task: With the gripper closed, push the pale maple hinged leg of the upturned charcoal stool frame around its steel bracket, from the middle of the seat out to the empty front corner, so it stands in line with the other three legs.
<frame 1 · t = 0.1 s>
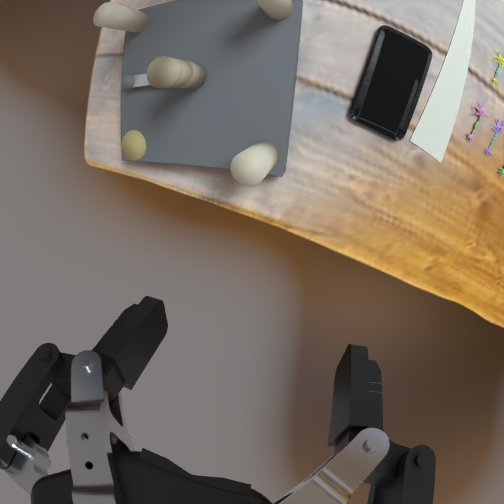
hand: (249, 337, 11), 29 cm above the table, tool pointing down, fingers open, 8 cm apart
stool frame: (204, 77, 31), on the table
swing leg: (146, 77, 26), point 7 cm above the table, hinge at 90.0°
phone: (392, 81, 26), on the table
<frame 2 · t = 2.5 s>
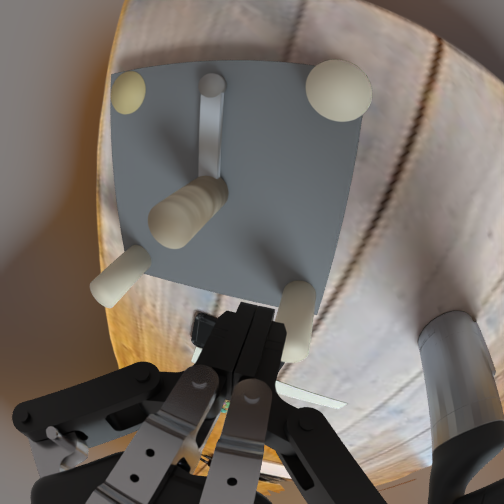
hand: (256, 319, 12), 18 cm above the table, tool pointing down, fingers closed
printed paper: (249, 405, 52), on the table
stool frame: (222, 181, 28), on the table
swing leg: (192, 151, 19), point 7 cm above the table, hinge at 90.0°
sunglasses: (204, 452, 85), on the table
phone: (240, 342, 41), on the table
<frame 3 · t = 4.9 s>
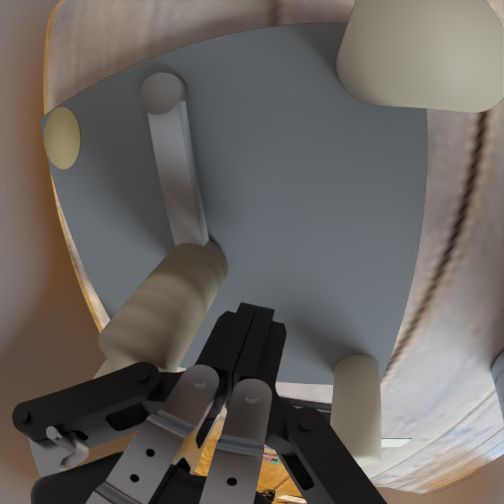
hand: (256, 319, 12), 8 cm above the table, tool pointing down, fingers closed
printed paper: (304, 454, 41), on the table
stool frame: (222, 237, 19), on the table
flag stand: (296, 503, 90), on the table
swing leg: (144, 219, 11), point 7 cm above the table, hinge at 88.3°, touching gripper
sunglasses: (261, 488, 73), on the table
phone: (285, 408, 31), on the table
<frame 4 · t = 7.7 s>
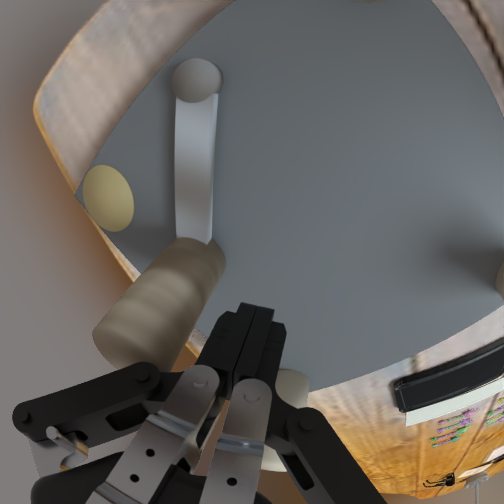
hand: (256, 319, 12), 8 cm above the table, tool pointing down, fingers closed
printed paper: (480, 416, 26), on the table
stool frame: (328, 210, 16), on the table
flag stand: (476, 474, 53), on the table
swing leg: (158, 212, 10), point 7 cm above the table, hinge at 43.9°, touching gripper
sunglasses: (439, 477, 49), on the table
phone: (454, 373, 22), on the table
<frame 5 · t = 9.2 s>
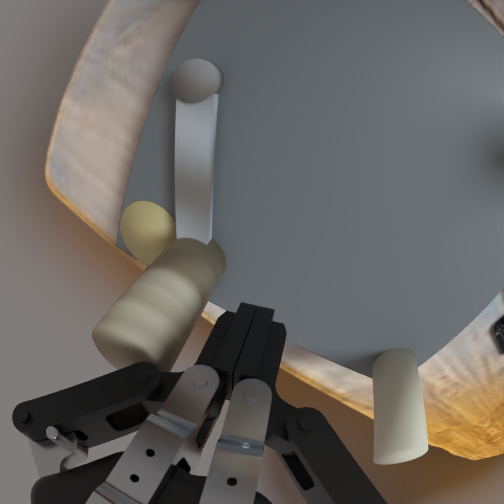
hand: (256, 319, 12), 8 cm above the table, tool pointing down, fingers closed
stool frame: (373, 167, 14), on the table
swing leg: (158, 211, 10), point 7 cm above the table, hinge at 20.9°, touching gripper
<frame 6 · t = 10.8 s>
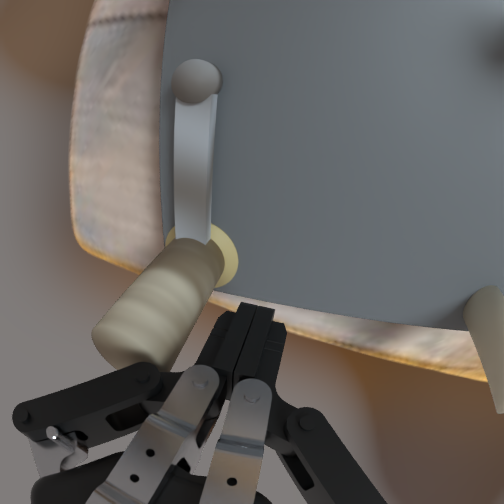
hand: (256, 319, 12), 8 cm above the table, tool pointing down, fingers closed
stool frame: (393, 111, 12), on the table
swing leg: (157, 211, 10), point 7 cm above the table, hinge at -0.7°, touching gripper
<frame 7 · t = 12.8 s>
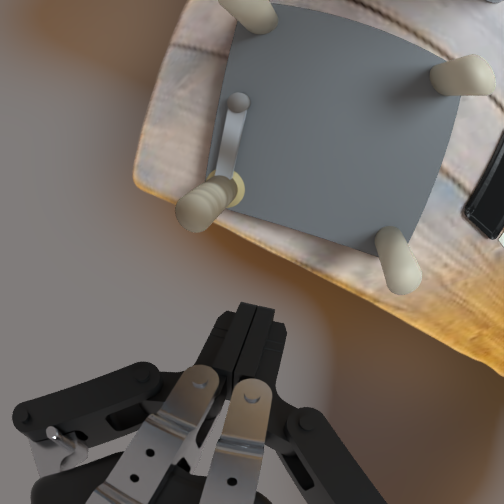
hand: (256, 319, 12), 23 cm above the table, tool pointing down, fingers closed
stool frame: (334, 125, 27), on the table
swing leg: (217, 155, 25), point 7 cm above the table, hinge at -0.7°
phone: (501, 182, 23), on the table
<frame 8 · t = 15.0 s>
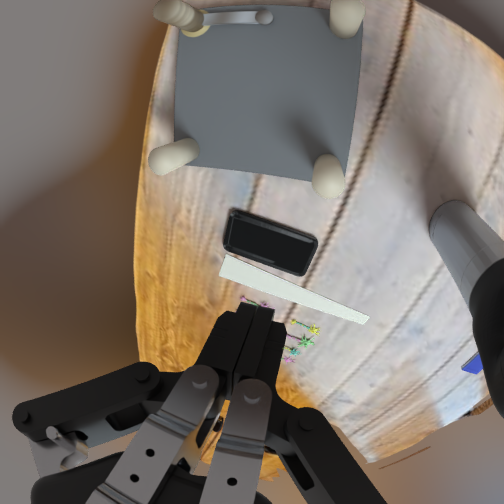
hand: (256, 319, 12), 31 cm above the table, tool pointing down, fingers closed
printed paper: (272, 332, 58), on the table
stool frame: (264, 86, 33), on the table
hard drive: (483, 353, 46), on the table
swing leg: (215, 11, 22), point 7 cm above the table, hinge at -0.7°
sunglasses: (209, 414, 90), on the table
phone: (270, 241, 46), on the table
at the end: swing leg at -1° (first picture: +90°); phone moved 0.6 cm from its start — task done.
